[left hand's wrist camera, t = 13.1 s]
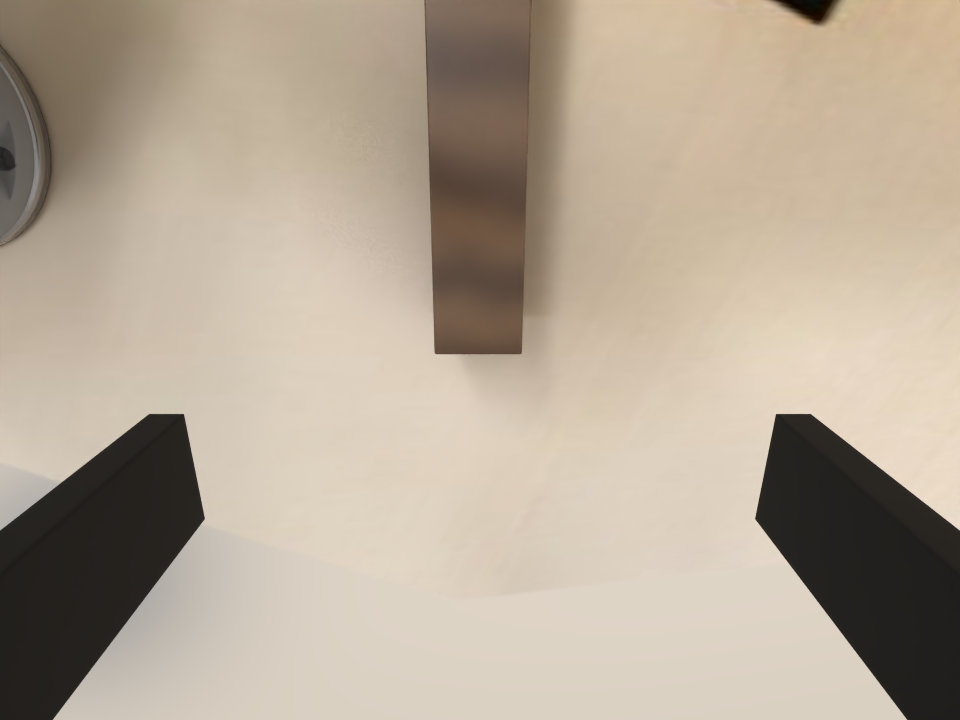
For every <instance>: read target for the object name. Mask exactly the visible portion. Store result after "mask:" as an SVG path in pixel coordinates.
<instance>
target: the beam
mask: <svg viewBox="0 0 960 720" xmlns="http://www.w3.org/2000/svg"><path fill="white" fill-rule="evenodd" d="M425 34H426V69H427V104H428V139H429V173H430V208H431V243H432V277H433V312H434V347H435V354H521V353H522V327H523V291H524V254H525V218H526V181H527V145H528V108H529V72H530V35H531V0H425Z"/></svg>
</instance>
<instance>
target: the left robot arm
mask: <svg viewBox="0 0 960 720" xmlns="http://www.w3.org/2000/svg"><path fill="white" fill-rule="evenodd" d="M50 164H51V162H50V147H49V140H48V135H47V131H46V126H45V123H44V120H43V117H42V113H41V111H40V108H39V106H38V103H37V101H36V99H35V97H34V95H33V93H32V91H31V89H30V87H29V85H28V83H27V82H26V80H25V78H24V77H23V75H22V73H21V72H20V71H19V69H18V68H17V66H16V65H15V64H14V62H13V61H12V59H11V58H10V57H9V56H8V55H7V53H6V52H5V51H4V50H3V49H2V48H1V47H0V245H3V244H5V243H7V242H9V241H10V240H12V239H14V238H15V237H16V236H18V235H19V234H20V233H21V232H23V231H24V230H25V229H26V228H27V227H28V226H29V224H30V223H31V222H32V221H33V219H34V218H35V217H36V215H37V213H38V211H39V210H40V208H41V206H42V203H43V201H44V198H45V196H46V192H47V188H48V184H49V177H50ZM204 519H205V518H204V513H203V507H202V502H201V497H200V492H199V487H198V482H197V477H196V472H195V467H194V462H193V457H192V452H191V447H190V442H189V437H188V432H187V427H186V422H185V417H184V414H149V415H148V416H146V417H145V418H144V419H142V420H141V421H140V422H139V423H137V424H136V425H135V426H133V427H132V428H131V429H130V430H128V431H127V432H126V433H125V434H123V435H122V436H121V437H119V438H118V439H117V440H116V441H114V442H113V443H112V444H110V445H109V446H108V447H107V448H105V449H104V450H103V451H101V452H100V453H99V454H98V455H96V456H95V457H94V458H93V459H91V460H90V461H89V462H87V463H86V464H85V465H84V466H82V467H81V468H80V469H78V470H77V471H76V472H75V473H73V474H72V475H71V476H70V477H68V478H67V479H66V480H64V481H63V482H62V483H61V484H59V485H58V486H57V487H55V488H54V489H53V490H52V491H50V492H49V493H48V494H46V495H45V496H44V497H43V498H41V499H40V500H39V501H38V502H36V503H35V504H34V505H32V506H31V507H30V508H29V509H27V510H26V511H25V512H23V513H22V514H21V515H20V516H18V517H17V518H16V519H14V520H13V521H12V522H11V523H9V524H8V525H7V526H6V527H4V528H3V529H2V530H0V720H53V719H54V717H55V716H56V715H57V713H58V712H59V711H60V709H61V708H62V707H63V705H64V704H65V703H66V701H67V700H68V699H69V698H70V696H71V695H72V694H73V692H74V691H75V690H76V688H77V687H78V686H79V684H80V683H81V682H82V680H83V679H84V678H85V676H86V675H87V674H88V672H89V671H90V670H91V668H92V667H93V666H94V665H95V663H96V662H97V661H98V659H99V658H100V657H101V655H102V654H103V653H104V651H105V650H106V649H107V647H108V646H109V645H110V643H111V642H112V641H113V639H114V638H115V637H116V635H117V634H118V633H119V631H120V630H121V629H122V628H123V626H124V625H125V624H126V622H127V621H128V620H129V618H130V617H131V616H132V614H133V613H134V612H135V610H136V609H137V608H138V606H139V605H140V604H141V602H142V601H143V600H144V598H145V597H146V596H147V595H148V593H149V592H150V591H151V589H152V588H153V587H154V585H155V584H156V583H157V581H158V580H159V579H160V577H161V576H162V575H163V573H164V572H165V571H166V569H167V568H168V567H169V566H170V564H171V563H172V561H173V560H174V559H175V558H176V556H177V555H178V554H179V552H180V551H181V550H182V548H183V547H184V546H185V544H186V543H187V542H188V540H189V539H190V538H191V536H192V535H193V534H194V532H195V531H196V530H197V529H198V527H199V526H200V525H201V523H202V522H203V521H204ZM755 519H756V521H757V522H758V523H759V525H760V526H761V527H762V529H763V530H764V531H765V533H766V534H767V535H768V536H769V538H770V539H771V540H772V542H773V543H774V544H775V546H776V547H777V548H778V550H779V551H780V552H781V554H782V555H783V556H784V558H785V559H786V560H787V562H788V563H789V564H790V566H791V567H792V568H793V569H794V571H795V572H796V573H797V575H798V576H799V577H800V579H801V580H802V581H803V583H804V584H805V585H806V587H807V588H808V589H809V591H810V592H811V593H812V595H813V596H814V597H815V598H816V600H817V601H818V602H819V604H820V605H821V606H822V608H823V609H824V610H825V612H826V613H827V614H828V616H829V617H830V618H831V620H832V621H833V622H834V623H835V625H836V626H837V627H838V629H839V630H840V631H841V633H842V634H843V635H844V637H845V638H846V639H847V641H848V642H849V643H850V645H851V646H852V647H853V649H854V650H855V651H856V653H857V654H858V655H859V657H860V658H861V659H862V661H863V662H864V663H865V665H866V666H867V667H868V668H869V670H870V671H871V672H872V674H873V675H874V676H875V678H876V679H877V680H878V682H879V683H880V684H881V686H882V687H883V688H884V690H885V691H886V692H887V694H888V695H889V696H890V697H891V699H892V700H893V701H894V703H895V704H896V705H897V707H898V708H899V709H900V711H901V712H902V713H903V715H904V716H905V717H906V719H907V720H960V530H958V529H957V528H956V527H954V526H953V525H952V524H951V523H949V522H948V521H947V520H946V519H944V518H943V517H942V516H940V515H939V514H938V513H937V512H935V511H934V510H933V509H931V508H930V507H929V506H928V505H926V504H925V503H924V502H922V501H921V500H920V499H919V498H917V497H916V496H915V495H914V494H912V493H911V492H910V491H908V490H907V489H906V488H905V487H903V486H902V485H901V484H899V483H898V482H897V481H896V480H894V479H893V478H892V477H890V476H889V475H888V474H887V473H885V472H884V471H883V470H882V469H880V468H879V467H878V466H876V465H875V464H874V463H873V462H871V461H870V460H869V459H867V458H866V457H865V456H864V455H862V454H861V453H860V452H858V451H857V450H856V449H855V448H853V447H852V446H851V445H850V444H848V443H847V442H846V441H844V440H843V439H842V438H841V437H839V436H838V435H837V434H835V433H834V432H833V431H832V430H830V429H829V428H828V427H827V426H825V425H824V424H823V423H821V422H820V421H819V420H818V419H816V418H815V417H814V416H812V415H811V414H776V417H775V422H774V427H773V432H772V437H771V442H770V447H769V452H768V457H767V462H766V467H765V472H764V477H763V482H762V487H761V492H760V497H759V502H758V507H757V513H756V518H755Z"/></svg>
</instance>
